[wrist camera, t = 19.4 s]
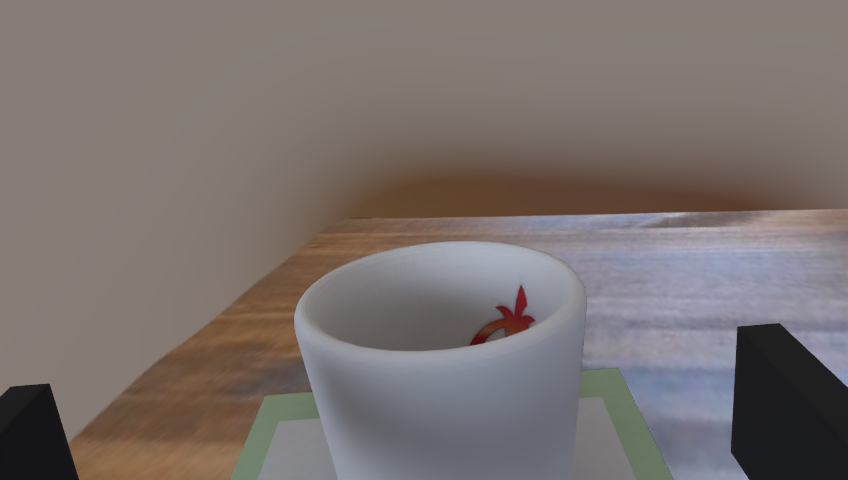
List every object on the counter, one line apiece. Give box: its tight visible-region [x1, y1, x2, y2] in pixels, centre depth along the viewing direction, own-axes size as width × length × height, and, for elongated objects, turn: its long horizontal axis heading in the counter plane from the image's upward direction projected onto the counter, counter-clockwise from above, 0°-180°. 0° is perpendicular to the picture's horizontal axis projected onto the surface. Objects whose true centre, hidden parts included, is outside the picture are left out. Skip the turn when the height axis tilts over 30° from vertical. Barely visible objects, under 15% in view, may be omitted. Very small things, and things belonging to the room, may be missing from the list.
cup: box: [294, 241, 587, 480], centre depth 22 cm, size 11×8×8 cm
